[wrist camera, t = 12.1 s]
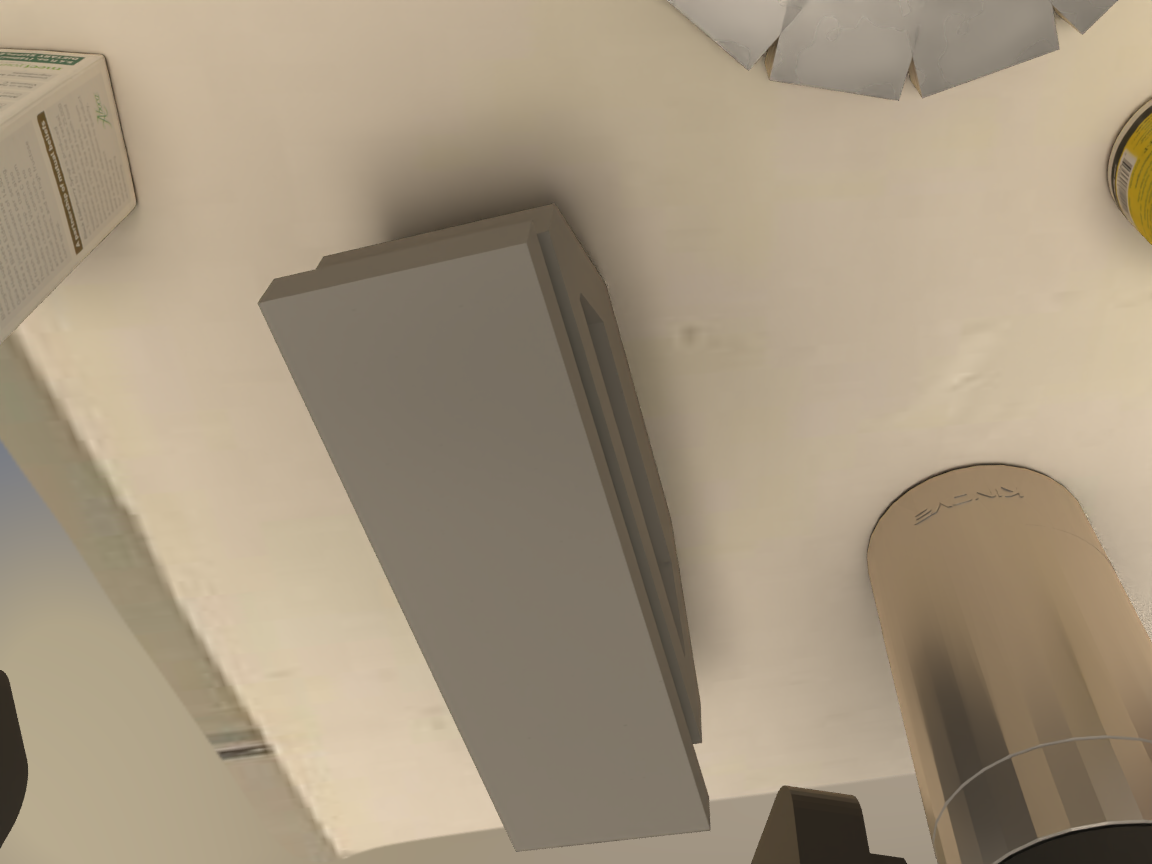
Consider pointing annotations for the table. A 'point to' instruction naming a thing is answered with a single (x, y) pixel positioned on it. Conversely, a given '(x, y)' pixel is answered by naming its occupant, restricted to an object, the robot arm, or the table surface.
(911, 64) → the grey segmented ring
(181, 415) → the table surface
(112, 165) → the syrup box
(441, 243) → the grey angular block
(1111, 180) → the supplement bottle
